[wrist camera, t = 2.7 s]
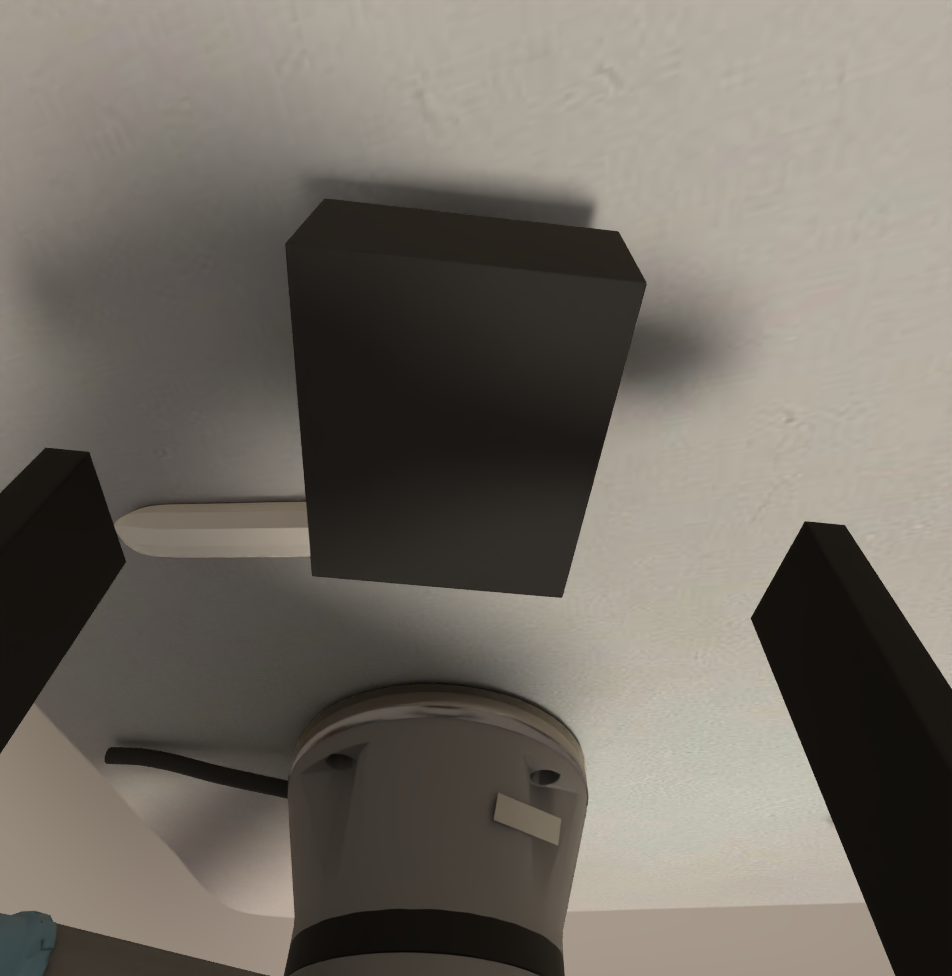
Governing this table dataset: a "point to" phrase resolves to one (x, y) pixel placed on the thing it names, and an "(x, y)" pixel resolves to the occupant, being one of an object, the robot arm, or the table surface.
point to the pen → (218, 530)
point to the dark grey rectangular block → (454, 390)
